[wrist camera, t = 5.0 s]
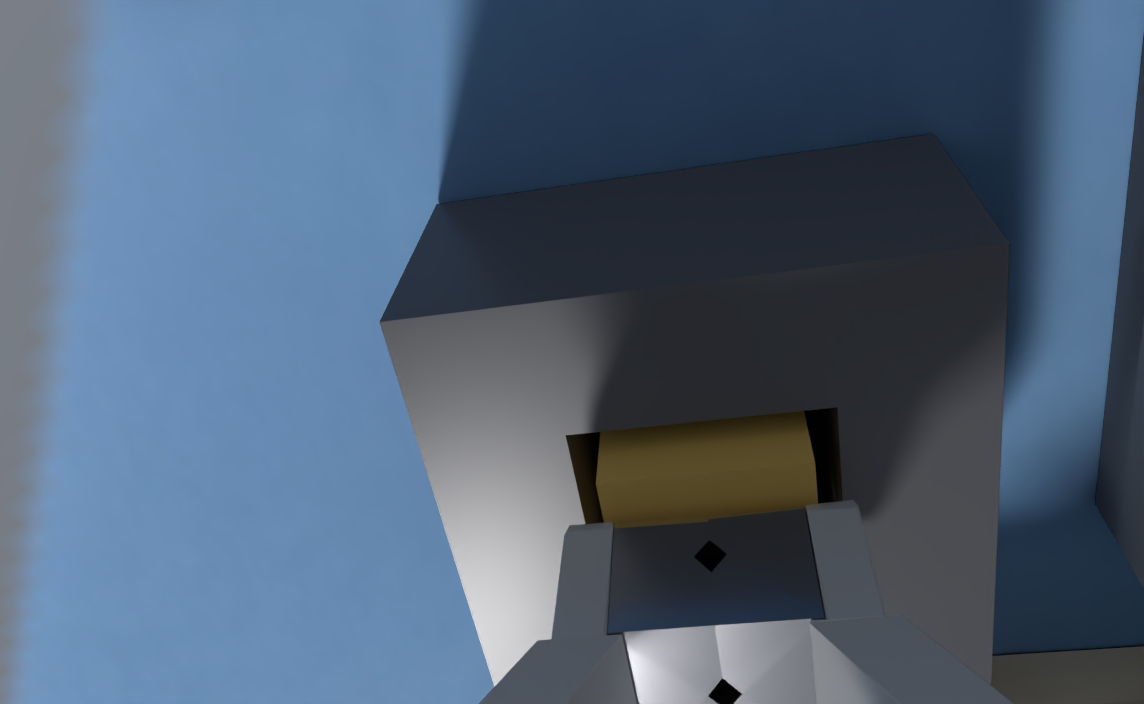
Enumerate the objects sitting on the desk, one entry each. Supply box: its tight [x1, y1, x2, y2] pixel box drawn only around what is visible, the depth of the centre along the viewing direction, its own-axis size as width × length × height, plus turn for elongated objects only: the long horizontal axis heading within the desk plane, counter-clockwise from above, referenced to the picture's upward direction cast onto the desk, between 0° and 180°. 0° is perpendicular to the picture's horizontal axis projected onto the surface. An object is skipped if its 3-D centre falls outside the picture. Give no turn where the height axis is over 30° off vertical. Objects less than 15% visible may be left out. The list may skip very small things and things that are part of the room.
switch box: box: [380, 134, 1010, 686], centre depth 12 cm, size 6×6×3 cm
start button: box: [596, 411, 818, 523], centre depth 12 cm, size 2×2×3 cm
